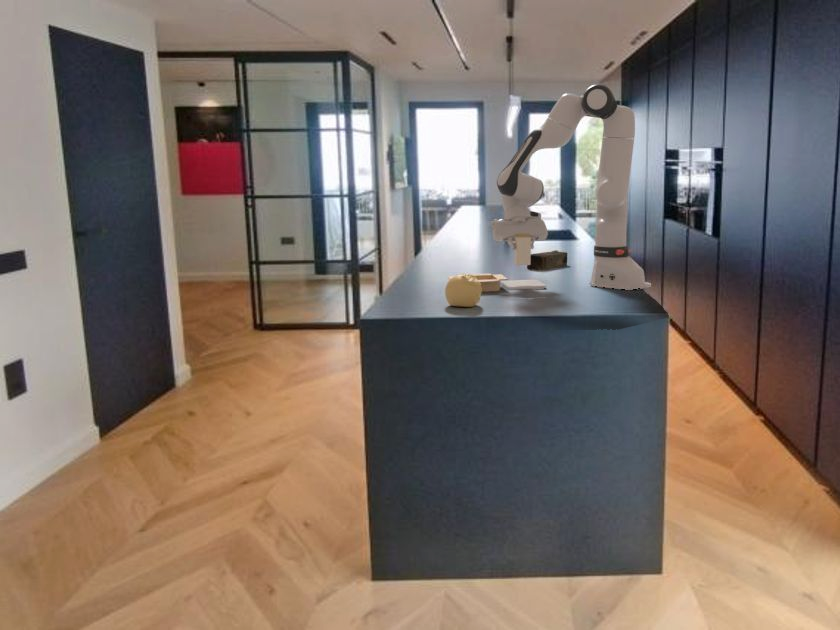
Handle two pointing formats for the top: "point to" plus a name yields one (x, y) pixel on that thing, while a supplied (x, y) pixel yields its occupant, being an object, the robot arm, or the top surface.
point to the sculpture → (463, 290)
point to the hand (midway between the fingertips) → (523, 248)
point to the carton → (488, 281)
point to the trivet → (523, 284)
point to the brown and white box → (522, 249)
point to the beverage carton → (547, 260)
